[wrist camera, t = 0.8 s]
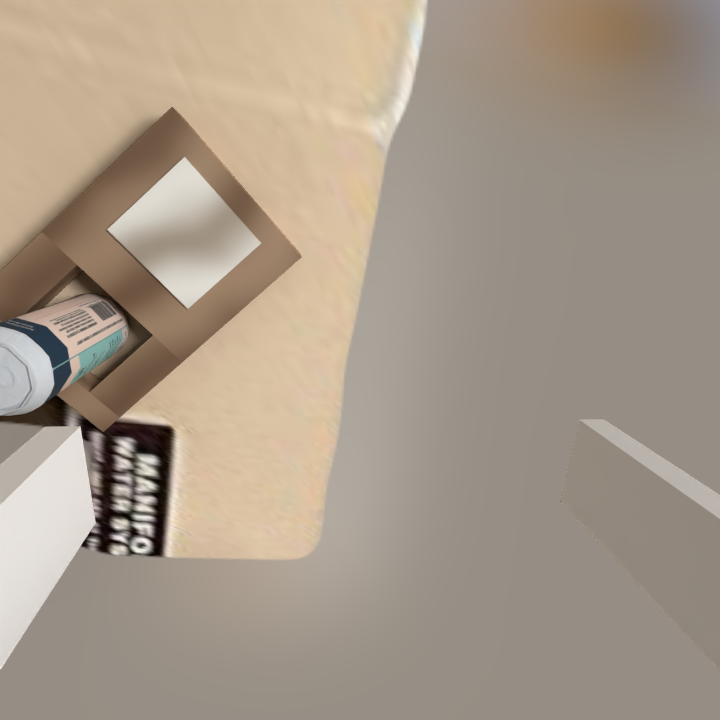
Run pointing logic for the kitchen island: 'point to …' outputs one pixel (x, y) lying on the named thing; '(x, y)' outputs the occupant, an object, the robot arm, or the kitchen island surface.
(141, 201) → the pocket board
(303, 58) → the kitchen island surface
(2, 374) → the beer can
